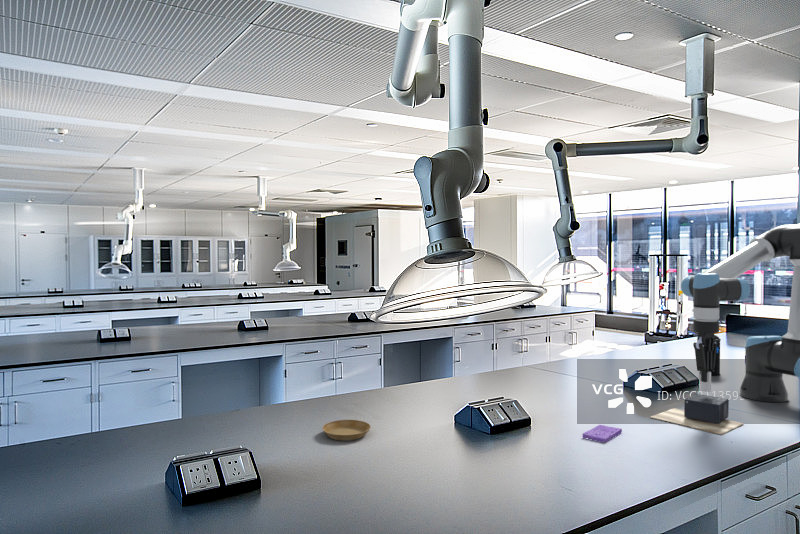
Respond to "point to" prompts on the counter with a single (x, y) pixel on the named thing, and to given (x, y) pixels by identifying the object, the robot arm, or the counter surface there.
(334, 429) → the plant saucer
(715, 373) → the aerosol can
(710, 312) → the robot arm
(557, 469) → the counter surface
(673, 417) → the tan flat board
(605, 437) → the sponges
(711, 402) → the small box
